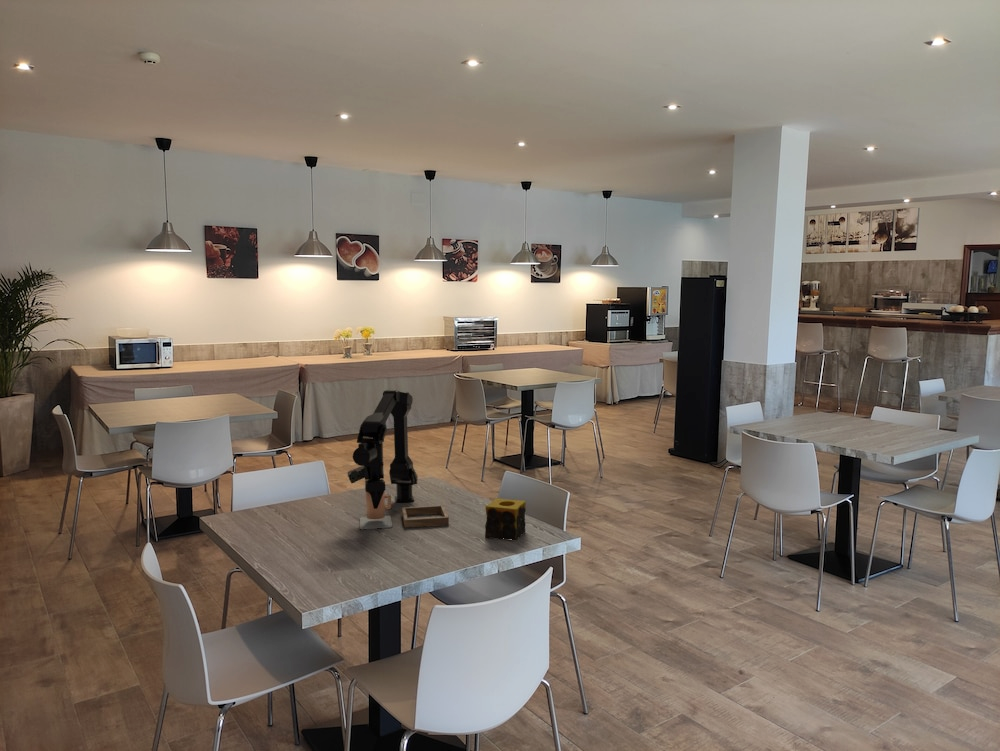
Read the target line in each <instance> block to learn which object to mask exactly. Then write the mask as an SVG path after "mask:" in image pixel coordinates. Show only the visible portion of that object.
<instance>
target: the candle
mask: <svg viewBox="0 0 1000 751" xmlns="http://www.w3.org/2000/svg"><path fill="white" fill-rule="evenodd" d="M526 506H527V505H526V500H520V499H519V500H518V499H506V498H494V499H493V500H492V501H491V502H490V503H488V504H487V505H486V506H485V515H486V522H485V524H484V527H485V531H484V537H485V538H486V539H487V538H488V539H493V538H498V539H497V540H502V539H503V538H504V539H512V540H516V541H517V540H518V539H519V538H521V537H522V535H523V534H524V533H525V532H526V524H527V523H526V510H527V509H526ZM521 534H522V535H521ZM518 537H519V538H518ZM517 538H518V539H517Z"/></svg>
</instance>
